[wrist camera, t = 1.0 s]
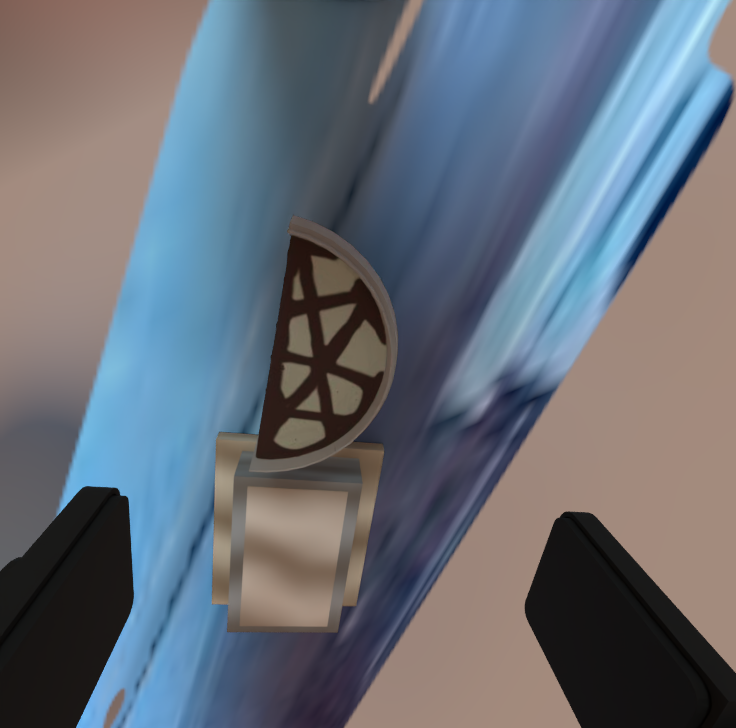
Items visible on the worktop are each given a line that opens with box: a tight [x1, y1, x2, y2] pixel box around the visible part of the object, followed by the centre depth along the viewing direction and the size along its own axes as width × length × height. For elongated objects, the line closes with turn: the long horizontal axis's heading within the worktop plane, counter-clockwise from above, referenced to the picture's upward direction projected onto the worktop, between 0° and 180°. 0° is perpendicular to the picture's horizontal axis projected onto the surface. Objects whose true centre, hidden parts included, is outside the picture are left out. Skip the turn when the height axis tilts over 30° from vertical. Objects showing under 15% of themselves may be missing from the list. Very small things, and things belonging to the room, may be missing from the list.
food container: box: [249, 215, 398, 472], centre depth 23 cm, size 12×6×10 cm, turn 167°
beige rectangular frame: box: [212, 432, 384, 633], centre depth 31 cm, size 16×12×4 cm
